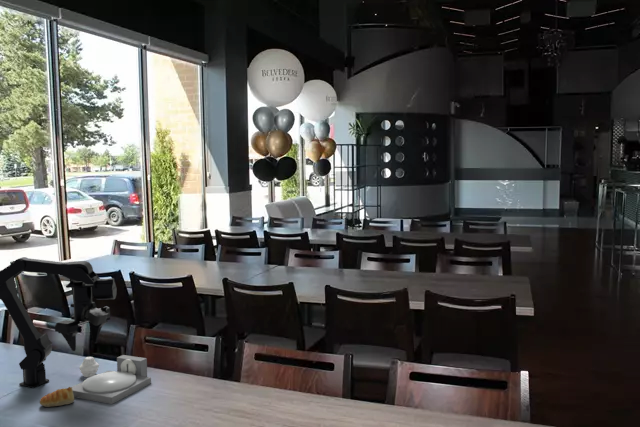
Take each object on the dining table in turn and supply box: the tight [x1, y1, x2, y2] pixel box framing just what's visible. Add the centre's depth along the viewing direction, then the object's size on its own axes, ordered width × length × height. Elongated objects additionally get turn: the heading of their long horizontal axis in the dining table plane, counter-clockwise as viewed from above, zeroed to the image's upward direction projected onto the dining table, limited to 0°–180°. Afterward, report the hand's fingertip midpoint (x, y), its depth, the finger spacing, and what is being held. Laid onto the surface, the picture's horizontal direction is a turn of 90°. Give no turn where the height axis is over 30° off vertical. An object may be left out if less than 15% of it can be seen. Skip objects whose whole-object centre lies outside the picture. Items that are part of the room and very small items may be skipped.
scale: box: [71, 354, 152, 405], centre depth 183 cm, size 18×21×7 cm
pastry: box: [39, 386, 75, 408], centre depth 170 cm, size 9×7×4 cm
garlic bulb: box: [79, 356, 100, 378], centre depth 193 cm, size 6×6×7 cm
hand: (84, 346), depth 187 cm, fingers open, 9 cm apart
